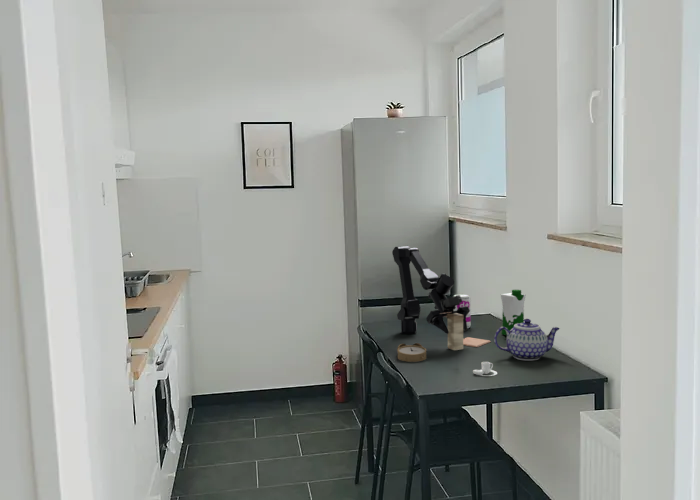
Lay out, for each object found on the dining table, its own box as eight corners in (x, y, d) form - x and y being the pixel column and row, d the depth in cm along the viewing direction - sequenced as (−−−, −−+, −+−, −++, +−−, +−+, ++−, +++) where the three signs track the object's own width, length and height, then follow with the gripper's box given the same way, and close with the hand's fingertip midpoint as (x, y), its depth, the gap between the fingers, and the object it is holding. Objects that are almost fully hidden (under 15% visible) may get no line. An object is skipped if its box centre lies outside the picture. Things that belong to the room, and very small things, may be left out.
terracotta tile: (453, 343, 279) (453, 342, 279) (468, 338, 287) (468, 337, 287) (476, 347, 271) (476, 345, 271) (490, 342, 279) (490, 340, 279)
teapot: (497, 363, 247) (497, 323, 245) (490, 352, 262) (490, 315, 261) (565, 362, 246) (566, 322, 245) (554, 351, 262) (554, 314, 260)
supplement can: (472, 329, 305) (471, 296, 303) (454, 329, 305) (453, 297, 304) (469, 325, 313) (469, 293, 312) (451, 325, 313) (451, 294, 312)
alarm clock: (399, 355, 251) (394, 339, 265) (399, 367, 252) (394, 350, 267) (429, 354, 252) (422, 338, 266) (428, 366, 253) (422, 349, 267)
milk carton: (513, 337, 286) (513, 292, 284) (498, 334, 293) (498, 289, 291) (527, 335, 290) (527, 289, 288) (512, 331, 298) (512, 287, 296)
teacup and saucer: (473, 377, 231) (473, 366, 231) (470, 371, 239) (470, 360, 239) (499, 377, 231) (499, 365, 230) (495, 370, 239) (495, 359, 238)
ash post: (447, 348, 271) (446, 314, 270) (456, 346, 273) (456, 313, 272) (454, 350, 267) (453, 316, 266) (463, 348, 269) (463, 314, 268)
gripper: (429, 291, 267) (446, 323, 258) (467, 286, 276) (484, 317, 267) (419, 307, 275) (435, 339, 266) (455, 302, 284) (472, 333, 275)
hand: (457, 331), depth 268 cm, fingers open, 9 cm apart
